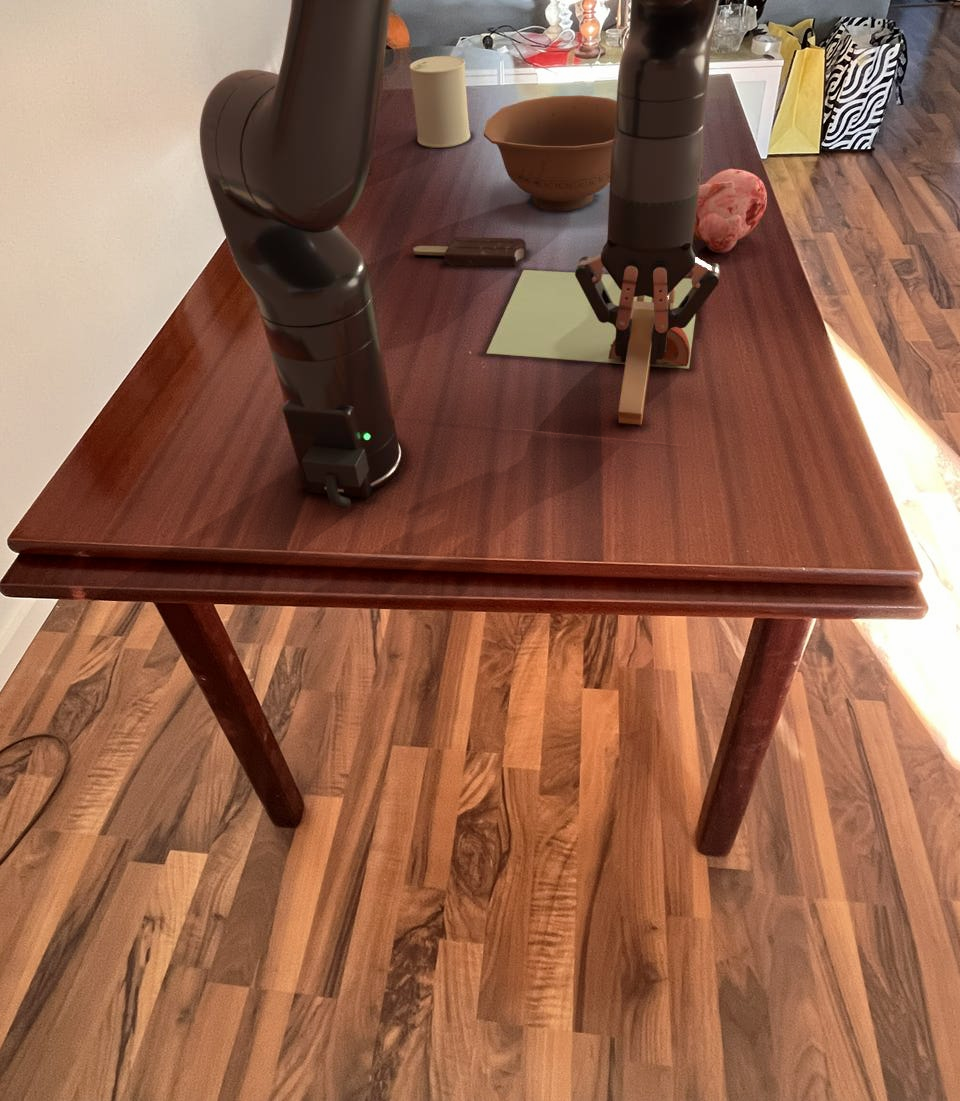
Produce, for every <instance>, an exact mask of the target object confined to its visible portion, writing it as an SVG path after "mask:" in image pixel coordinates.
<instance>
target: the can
mask: <svg viewBox="0 0 960 1101" xmlns="http://www.w3.org/2000/svg"><path fill="white" fill-rule="evenodd" d="M409 71H410V78H411V86H412V94H413V95H412V96H413V103H414V110H415V111H414V112H415V121H416V130H417V131H416V132H417V139H416V140H417V142H418V144H420V146H423V147H426V148H431V149H443V148H451V147H457V146H459V145H462V144H464V143H466V142H467V141H469V140H470V139H471V132H470V124H469V113H468V112H469V111H468V110H469V109H468V99H467V98H468V96H467V83H466V82H467V81H466V61H465V59H464V58H462V57H459V56H454V55H437V56H429V57H424V58H420V59H418V60H415V61H413V62H412V63H410V65H409Z"/></svg>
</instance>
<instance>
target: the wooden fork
mask: <svg viewBox="0 0 960 1101" xmlns="http://www.w3.org/2000/svg"><path fill="white" fill-rule="evenodd" d="M675 291H676V287H675V288H674V289H673V290H672V291H671V292H670V309H673V306H674V299H675ZM631 320H632V322H631V323H632V325H631V332H630V339H629V342H628V349H627V356H626V363H625V364H624V370H623V375H622V376H623V377H622V383H621V389H620V390H621V391H620V397H619V402H618V403H619V404H618V410H617V415H618V424H629V425H639V426H641V425H642V422H643V415H644V409H645V401H646V395H647V387H648V382H649V373H650V367H651V366H650V356H651V345H652V341H651V339H652V330H653V325H654V323H655V311H654V298H652V302H644V295H643V296H638V297H637V301H634V302H633V307H632V312H631Z"/></svg>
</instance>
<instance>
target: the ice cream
mask: <svg viewBox="0 0 960 1101" xmlns="http://www.w3.org/2000/svg"><path fill="white" fill-rule="evenodd" d="M767 201H768V195H767V189H766V187H765V183H764V182H763V181H762V180H761V179H760V177H758V176H757V175H755V174H754V173H752V172H749V171H747V170H743V169H737V168H736V169H734V168H728V169H724V170H721V171H719V172H718V173H716V174H714V175H713V176H711V178H709V180H707V181H706V182H705V183H704V184H700V185H699V191H698V201H697V210H696V218H695V226H694V235H693V239H695V240H697V241H704V242H705V243H706V247H707V248H708V250H710V251H711V252H714V253H717V254H724V253H728V252H729V251H731V250H732V249H733V248H734V247H735V246H736V244H737V242H738V240H741V239H743V238H744V237H746V236H747V235H748V234H749V233H750V232H751V231H753V230H754V228H755V227H756V226H757V225H758V223H759V222H760V220H761V219H762V217H763V216H764V212H765V211H766V208H767V203H768V202H767Z"/></svg>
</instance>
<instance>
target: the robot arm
mask: <svg viewBox="0 0 960 1101" xmlns="http://www.w3.org/2000/svg"><path fill="white" fill-rule="evenodd" d="M393 1H394V0H291V1H290V2H291V3H290V11H289V17H288V24H287V30H286V36H285V42H284V49H283V55H282V59H281V64H280V66H279V67H280V68H279V72H278V73H276V72H275V73H274V72H271V71H266V70H263V69H262V70H261V69H243V70H242V69H241V70H239V71H238V70H237V71H235V72H233V73H230V74H229V75H226V76H225V77H223V78H222V79H221V80H220V81H219V82H217V84H216V85H215V86H214V87H213V88H212V90H211V91H210V92H209V94H208V96H207V97H206V99H205V101H204V104H203V107H202V111H201V116H200V121H199V147H200V155H201V160H202V165H203V169H204V174H205V176H206V180H207V184H208V186H209V190H210V193H211V196H212V200H213V202H214V206H215V209H216V212H217V214H218V217H219V221H220V223H221V226H222V230H223V232H224V235H225V238H226V241H227V244H228V247H229V250H230V253H231V256H232V258H233V261H234V263H235V265H236V268H237V269H238V272H239V273H240V276H241V277H242V278H243V280H244V282H245V283H246V284H247V286H248V288H249V289H250V291H251V292H252V294H253V297H254V298H255V301H256V305H257V309H258V312H259V314H260V319H261V323H262V325H263V329H264V332H265V336H266V340H267V344H268V347H269V350H270V351H269V352H270V355H271V358H272V361H273V365H274V369H275V373H276V376H277V380H278V383H279V386H280V390H281V394H282V397H283V400H284V404H283V406H282V414H283V416H284V420H285V423H286V427H287V431H288V434H289V437H290V441H291V444H292V448H293V451H294V455H295V459H296V462H297V465H298V469H299V472H300V475H301V480H302V483H303V487H304V489H305V492H309V493H315V494H324V495H327V497H328V500H329V501H330V503H331V504H332V505H334V506H336V507H340V508H343V509H346V508H349V507H350V506H351V504H352V502H351V499H350V498H358V499H367V498H369V496H370V494H371V493H372V492H373V491H374V490H377V489H378V488H380V487H382V486H384V485H385V484H387V483H389V482H390V481H391V480H392V479H393V478H394V477H395V476H396V475H397V473H398V472H399V471H400V468H401V465H402V461H403V455H402V450H401V446H400V444H399V440H398V433H397V428H396V422H395V416H394V410H393V405H392V398H391V394H390V393H391V392H390V387H389V382H388V375H387V370H386V364H385V357H384V353H383V352H384V351H383V346H382V341H381V334H380V330H379V329H380V328H379V322H378V316H377V310H376V305H375V298H374V294H373V293H374V292H373V288H372V282H371V281H372V280H371V274H370V271H369V267H368V263H367V261H366V259H365V257H364V255H363V254H362V252H361V251H360V250H359V249H358V248H357V247H356V245H354V243H352V241H350V239H349V238H348V237H347V235H345V233H344V232H343V231H342V229H341V228H340V227H339V226H340V225H341V224H343V223H344V221H346V219H348V217H350V215H351V214H352V212H353V211H354V210H355V208H356V207H357V205H358V203H359V201H360V199H361V197H362V194H363V192H364V190H365V187H366V184H367V181H368V178H369V173H370V169H371V165H372V161H373V160H372V159H373V154H374V146H375V140H376V132H377V124H378V117H379V107H380V98H381V89H382V82H383V73H384V64H385V55H386V47H387V41H388V40H387V39H388V31H389V26H390V17H391V13H392V12H391V11H392V8H393ZM719 4H720V0H631V1H630V14H629V16H630V17H629V31H628V36H627V40H626V43H625V46H624V49H623V52H622V54H621V57H620V62H619V68H618V69H619V70H618V74H617V75H618V76H617V87H616V89H617V90H616V101H617V104H616V126H615V135H614V141H613V146H612V153H611V168H610V183H609V189H608V190H609V193H608V194H609V195H608V197H609V198H608V213H607V214H608V216H607V218H608V219H607V236H606V238H607V239H606V242H605V244H604V246H603V247H602V251H601V253H599V254H597V255H595V256H593V257H589V256H582V257H580V258H579V260H578V264H577V267H576V269H575V272H574V273H575V276H576V278H577V280H578V282H579V284H580V286H581V288H582V290H583V292H584V294H585V296H586V297H587V299H588V301H589V303H590V305H591V307H592V309H593V311H594V313H595V315H596V317H597V318H598V320H599V321H600V322H602V323H606V322H609V323H611V324H613V325H614V326H615V328H616V339H615V354H616V356H619V357H621V362H626V356H627V349H628V342H629V339H630V332H631V325H632V323H631V322H632V320H631V312H632V307H633V302H634V297H638V296H643V295H645V296H648V297H651V298H654V311H655V323H654V325H653V330H652V339H651V341H652V345H651V356H650V364H651V365H656V364H657V359H659V360H662V359H663V357H664V356H665V350H666V342H667V333H668V330H669V329H671V328H673V327H678V328H684V327H686V326H687V325H688V323H689V322H690V321H691V319H692V318H693V317H694V315H695V314H697V313H698V312H699V311H700V309H701V307H702V306H703V305H704V303H705V302H706V301H707V300H708V298H709V297H710V296H711V294H712V293H713V292H714V291H715V289H716V288H717V287H718V285H719V282H720V275H721V267H720V265H719V264H718V263H715V262H711V263H709V264H708V263H707V262H705V261H704V260H701V259H700V258H698V257H697V256H698V255H697V249H696V248H695V245H694V237H693V235H694V226H695V218H696V210H697V201H698V191H699V186H700V185H701V178H702V176H703V158H704V122H705V113H706V107H707V106H706V104H707V98H708V88H709V81H710V80H709V79H710V59H711V58H710V57H711V46H712V39H713V33H714V29H715V25H716V19H717V15H718V10H719ZM603 268H604V269H605V270H606V272H607V274H610V276H611V277H612V279H613V280H614V281H615V283H616V284H617V286H618V287H619V289H620V290H621V295H620V301H619V306H617V305H614V304H613V302H612V300H611V298H610V296H609V294H608V292H607V290H606V288H605V286H604V284H603V282H602V280H601V278H602V275H603V274H604V270H603ZM689 273H692V277H691V279H692V285H693V287H692V288H691V290H690V291H689V292H688V294H687V295H686V296H685V298H684V299H683V301H682V302H681V303H680V305H679V306H678V308H674V309H670V292H671V291H672V290H673V289H674V288H675V287H676V286H677V285H678V284H679V282H680V281H681V280H682V279H683V278H686V276H687V275H689ZM695 316H696V315H695ZM349 497H350V498H349Z"/></svg>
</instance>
